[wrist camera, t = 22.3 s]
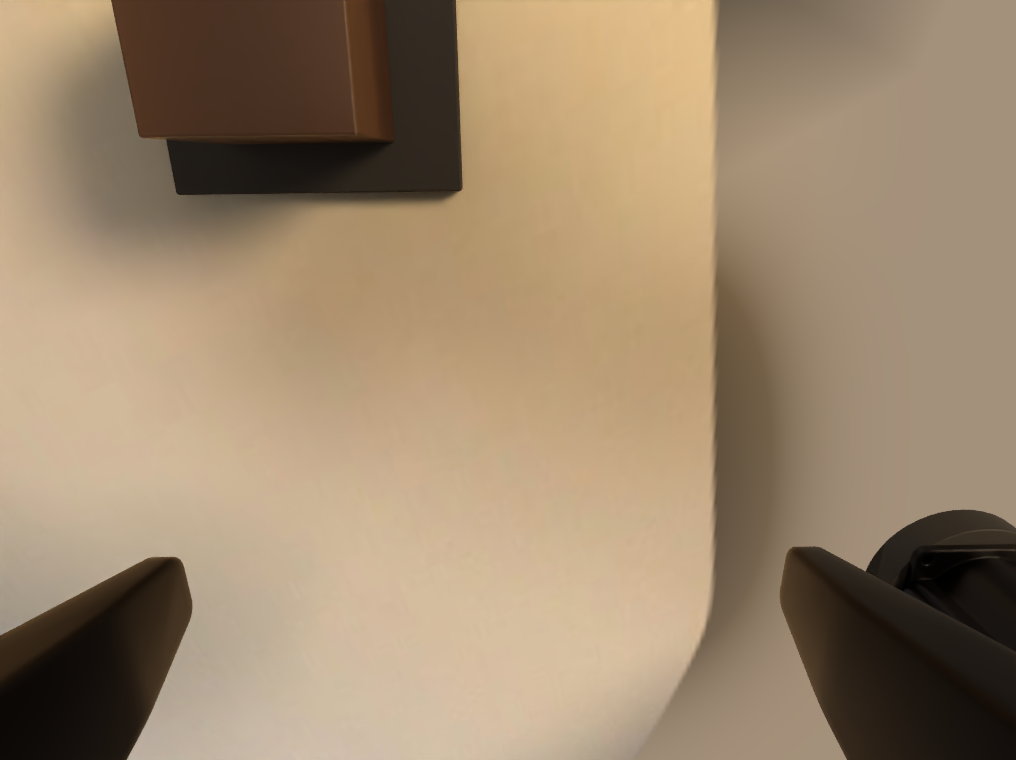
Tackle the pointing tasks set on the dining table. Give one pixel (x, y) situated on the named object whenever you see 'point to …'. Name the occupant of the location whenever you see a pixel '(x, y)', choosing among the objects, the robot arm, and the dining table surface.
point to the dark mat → (358, 166)
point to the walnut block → (258, 70)
